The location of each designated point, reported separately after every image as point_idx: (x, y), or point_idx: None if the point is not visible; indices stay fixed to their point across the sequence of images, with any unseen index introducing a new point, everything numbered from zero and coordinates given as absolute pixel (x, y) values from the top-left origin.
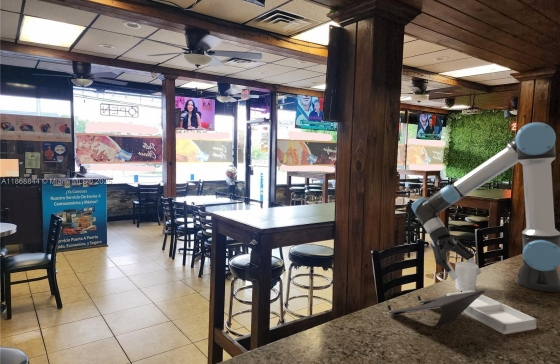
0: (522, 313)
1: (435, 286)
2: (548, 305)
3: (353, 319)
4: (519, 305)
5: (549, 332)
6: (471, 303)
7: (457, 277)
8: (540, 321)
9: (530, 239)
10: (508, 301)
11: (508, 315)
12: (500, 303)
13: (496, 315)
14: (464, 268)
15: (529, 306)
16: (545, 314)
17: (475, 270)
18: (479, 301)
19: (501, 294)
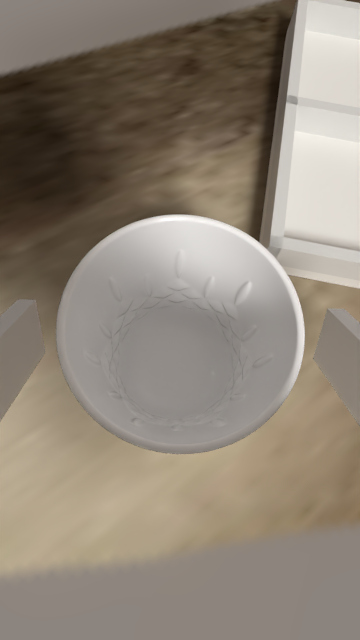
0: (301, 27)
1: (309, 504)
2: (20, 87)
3: None
4: (131, 134)
5: (270, 12)
6: (352, 207)
7: (340, 309)
8: (214, 48)
9: None
10: (127, 174)
11: (307, 87)
12: (293, 100)
13: (351, 105)
14: (280, 279)
15: (104, 113)
16: (133, 61)
17: (182, 233)
18: (294, 203)
19: (60, 233)
